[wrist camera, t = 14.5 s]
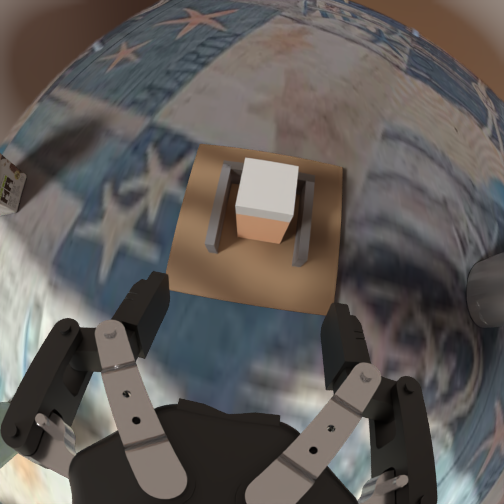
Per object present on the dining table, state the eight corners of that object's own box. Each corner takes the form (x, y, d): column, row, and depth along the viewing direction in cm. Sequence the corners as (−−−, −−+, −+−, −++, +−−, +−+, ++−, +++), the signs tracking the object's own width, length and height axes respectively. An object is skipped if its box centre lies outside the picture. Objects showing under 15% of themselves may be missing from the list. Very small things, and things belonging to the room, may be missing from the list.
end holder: (201, 148, 29) (196, 127, 25) (339, 171, 29) (351, 152, 25) (165, 289, 25) (152, 284, 21) (328, 315, 25) (343, 315, 21)
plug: (244, 198, 27) (245, 157, 19) (284, 205, 27) (298, 166, 19) (237, 237, 26) (235, 205, 18) (279, 244, 26) (293, 215, 18)
